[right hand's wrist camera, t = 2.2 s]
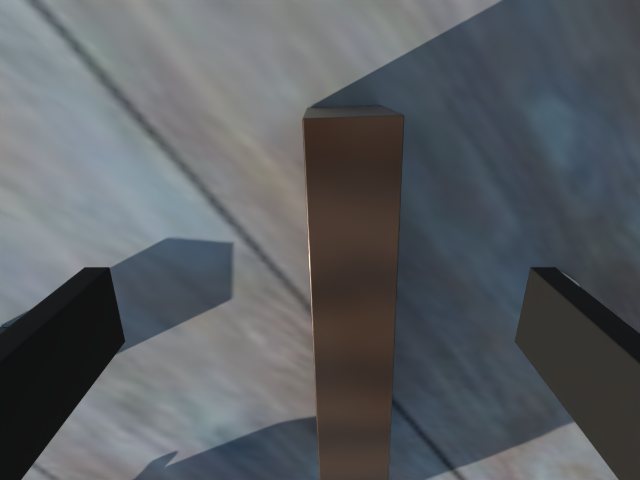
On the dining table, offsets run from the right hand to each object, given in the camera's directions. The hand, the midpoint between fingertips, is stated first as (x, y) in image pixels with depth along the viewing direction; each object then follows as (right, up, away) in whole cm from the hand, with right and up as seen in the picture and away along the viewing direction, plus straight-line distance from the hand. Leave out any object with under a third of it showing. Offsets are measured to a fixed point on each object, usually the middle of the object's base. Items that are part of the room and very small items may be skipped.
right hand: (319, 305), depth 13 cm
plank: (+2, -3, +20) cm, 20 cm away
